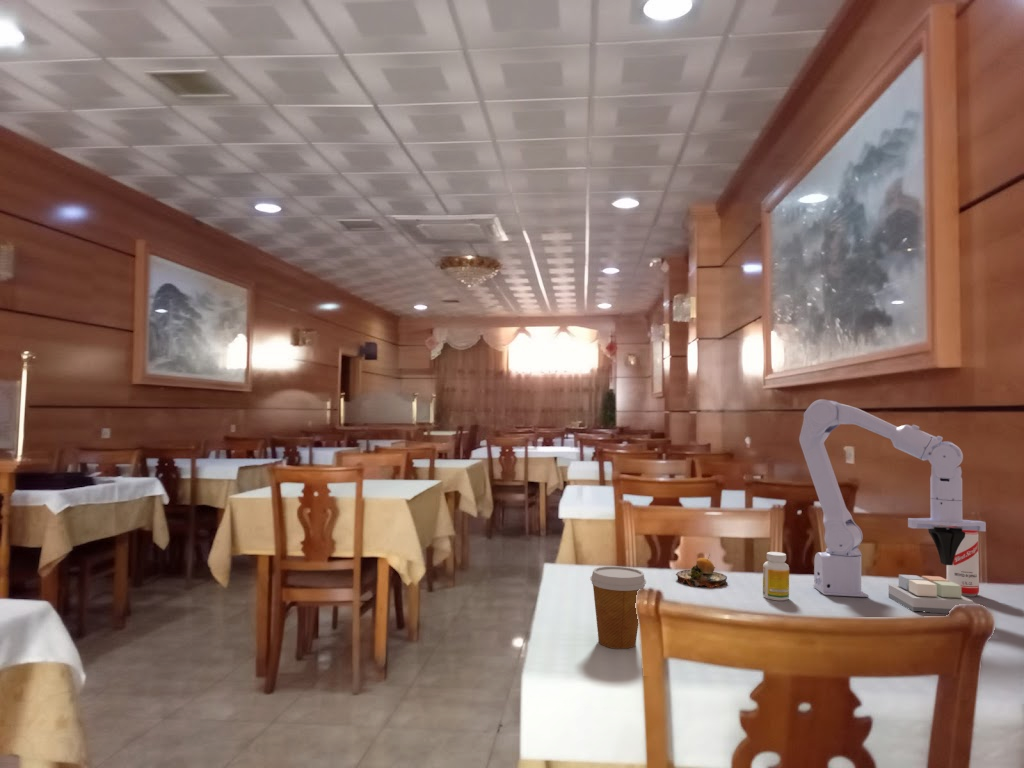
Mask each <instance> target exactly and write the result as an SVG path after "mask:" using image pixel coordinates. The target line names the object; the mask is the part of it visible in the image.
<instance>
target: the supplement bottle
mask: <svg viewBox="0 0 1024 768" xmlns="http://www.w3.org/2000/svg"><path fill="white" fill-rule="evenodd" d="M766 560H767V561H765V562H764V563H763V565H762V597H764V598H765V599H767V600H772V601H773V600H774V601H780V602H781V601H788V599H789V597H790V567H789V566H790V565H789V564H787V563H786V561H787V554H786V553H785V552H779V551H769V552H766Z"/></svg>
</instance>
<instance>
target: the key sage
mask: <svg viewBox="0 0 1024 768" xmlns="http://www.w3.org/2000/svg"><path fill="white" fill-rule="evenodd" d="M933 583H934V584H936V585H937V595H939V596H941V597H954V598H962V597H961V586H960V585H958V584H956V583H953V582H946V581H933Z"/></svg>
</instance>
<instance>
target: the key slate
mask: <svg viewBox="0 0 1024 768" xmlns="http://www.w3.org/2000/svg"><path fill="white" fill-rule="evenodd" d="M909 580H925V579H923V578H922V576H919V575H917V574H916V575H915V574H898V585H899V586H900V587H902V588H904V589H906V590H909Z"/></svg>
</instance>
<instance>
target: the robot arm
mask: <svg viewBox="0 0 1024 768" xmlns="http://www.w3.org/2000/svg"><path fill="white" fill-rule="evenodd" d="M840 425H856V426H859V427H861V428H863V429H866V430H868V431H870V432H872V433H875V434H878V435H879V436H882V437H885V438H887V439H890V441H891V443H892V446H893V448H895V449H897V450H898V451H901V452H903V453H906V454H908V455H910V456H912V457H914V458H917V459H919V460H921V461H924V462H925V461H928V462H929V463H930V464H929V465H931V467H930V469H931V470H930V471H931V473H930V474H931V475H930V478H929V479H930V481H929V482H930V483H929V484H930V489H929V490H930V496H929V497H930V499H929V500H930V502H929V503H930V505H929V506H930V517H918V518H916V517H914V518H912V517H908V518H907V528H909V529H926V530H927V531H928V534H929V535H930V537H931V538H932V540H933V542H934V545H935V547H936V549H937V553H938V556H939V560H940V564H943V565H945V566H946V565H953V561H954V557H955V554H956V551H957V549H958V547H959V545H960V543H961V542H962V540H963V539H964V538H965V532H962V530H974V531H978V532H987V530H986V529H987V528H986V527H987V525H986V524H987V523H986V521H982V520H971V519H970V520H968V519H963V513H964V512H963V478H962V474H963V470H962V466H960V465H961V464H962V462H963V460H964V454H963V450H961V448H960V447H959V446H958V445H956V444H954V443H953V442H952V441H943V439H944V438H943V436H940V435H937V436H935V435H933V434H930V433H928V432H925V431H923V430H921V429H920V428H921V427H920V426H918V425H916V424H912V425H910V424H904V425H903V424H902V425H900V426H896V425H894V424H892V423H890V422H888V421H885V420H884V419H882V418H879V417H878V416H875V415H873V414H871V413H869V412H867V411H865V410H862V409H860V408H858V407H856V406H855V407H854V406H851V405H848V404H844V403H840V402H838V401H835V400H828V399H817V400H815V401H813V402H812V403H811V404H810V405H809V406H808V408H807V409H806V410H805V412H803V421H802V425H801V430H800V433H799V437H798V441H799V445H800V448H801V450H802V453H803V456H804V460H805V462H806V465H807V468H808V471H809V474H810V477H811V480H812V483H813V486H814V488H815V492H816V496H817V497H818V501H819V503H820V507H821V510H822V513H823V516H822V517H823V521H822V524H823V526H824V543H825V545H826V547H827V548H825V550H826V551H824V552H820V551H819V552H816V553H815V556H814V559H813V560H814V561H813V564H814V568H813V571H814V572H813V573H814V575H813V579H814V581H813V583H814V584H813V585H812V586H813V588H815V589H816V590H817V591H819V592H820V593H822V594H823V595H824V596H839V597H858V598H859V597H860V598H868V597H869V594H868V593H867V592H865V591H863V590H862V551H861V550H860V549H859V546H860V545H861V543H862V542H863V537H864V536H863V532H862V529H861V528H860V526H859V525H858V524H856V523H855V521H854V519H853V516H852V514H851V513H850V511H849V509H848V508H847V506H846V503H845V500H844V497H843V494H842V492H841V489H840V486H839V484H838V480H837V477H836V474H835V472H834V469H833V466H832V463H831V459H830V456H829V454H828V451H827V449H826V445H825V441H826V440H827V439H828V438H829V436H830V434H831V432H832V431H834V430H835V429H836V428H838V427H839V426H840ZM948 526H957V527H948ZM869 598H870V597H869Z"/></svg>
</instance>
